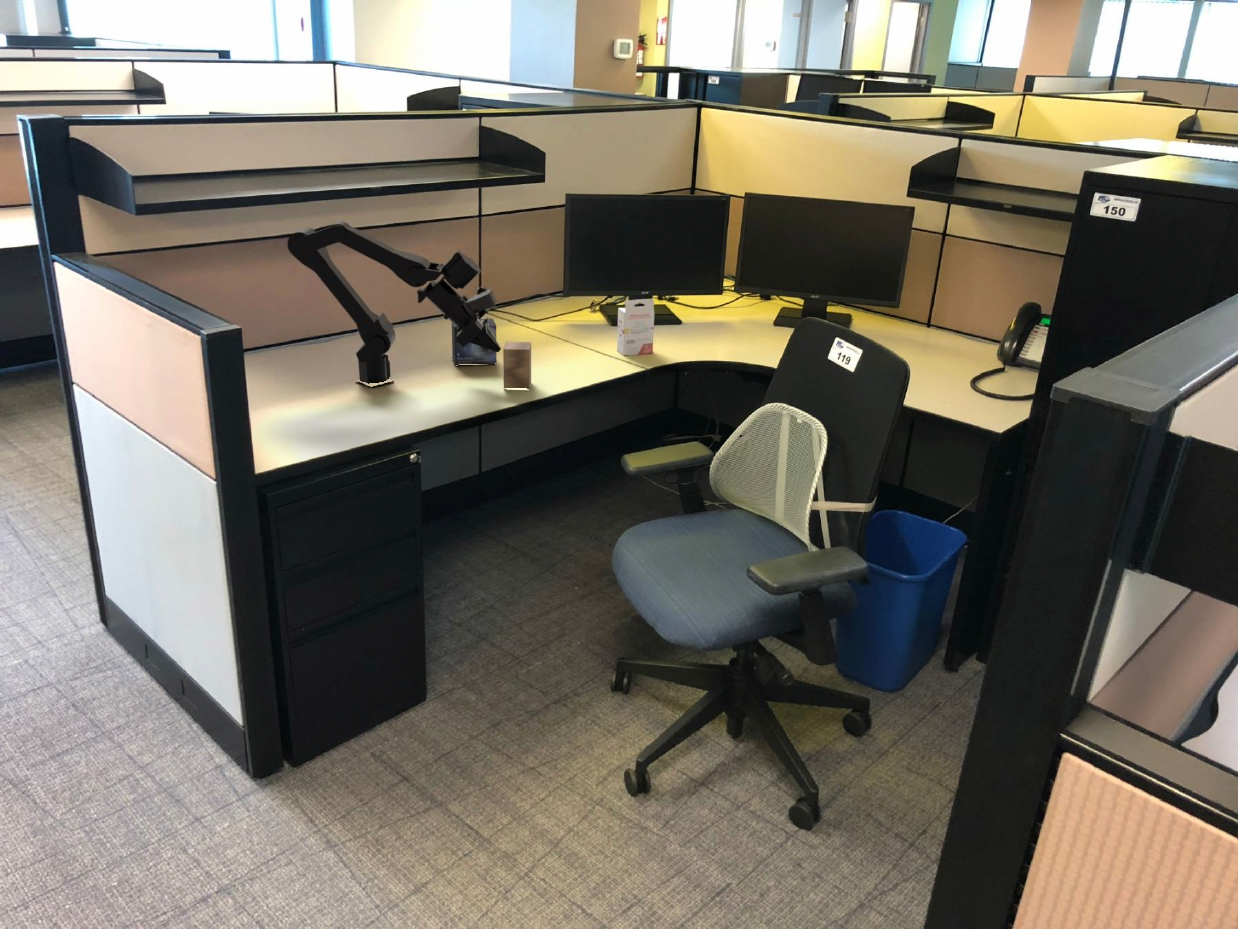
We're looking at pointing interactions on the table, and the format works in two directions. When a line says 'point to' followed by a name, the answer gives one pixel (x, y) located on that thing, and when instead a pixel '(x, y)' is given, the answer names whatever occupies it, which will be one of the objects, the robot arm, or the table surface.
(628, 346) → the ink cartridge box
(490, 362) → the small box
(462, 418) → the table surface
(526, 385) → the walnut block
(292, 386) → the table surface
